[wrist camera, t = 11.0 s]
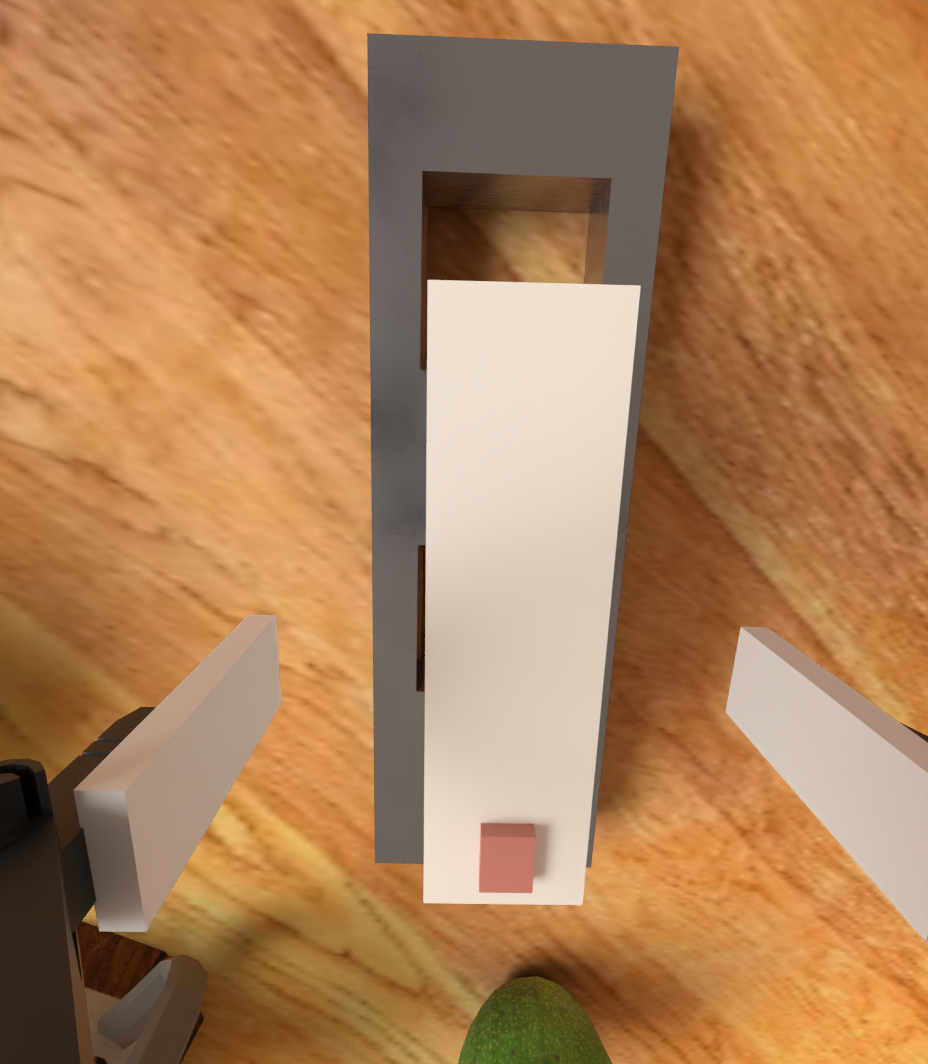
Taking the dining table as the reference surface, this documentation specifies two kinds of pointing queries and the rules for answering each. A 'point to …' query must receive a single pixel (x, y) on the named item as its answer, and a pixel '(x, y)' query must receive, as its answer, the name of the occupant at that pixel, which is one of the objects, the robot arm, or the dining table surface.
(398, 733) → the keyhole plate
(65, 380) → the dining table surface
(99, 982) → the mug
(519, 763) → the cream block with pegs
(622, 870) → the dining table surface
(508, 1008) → the fruit
